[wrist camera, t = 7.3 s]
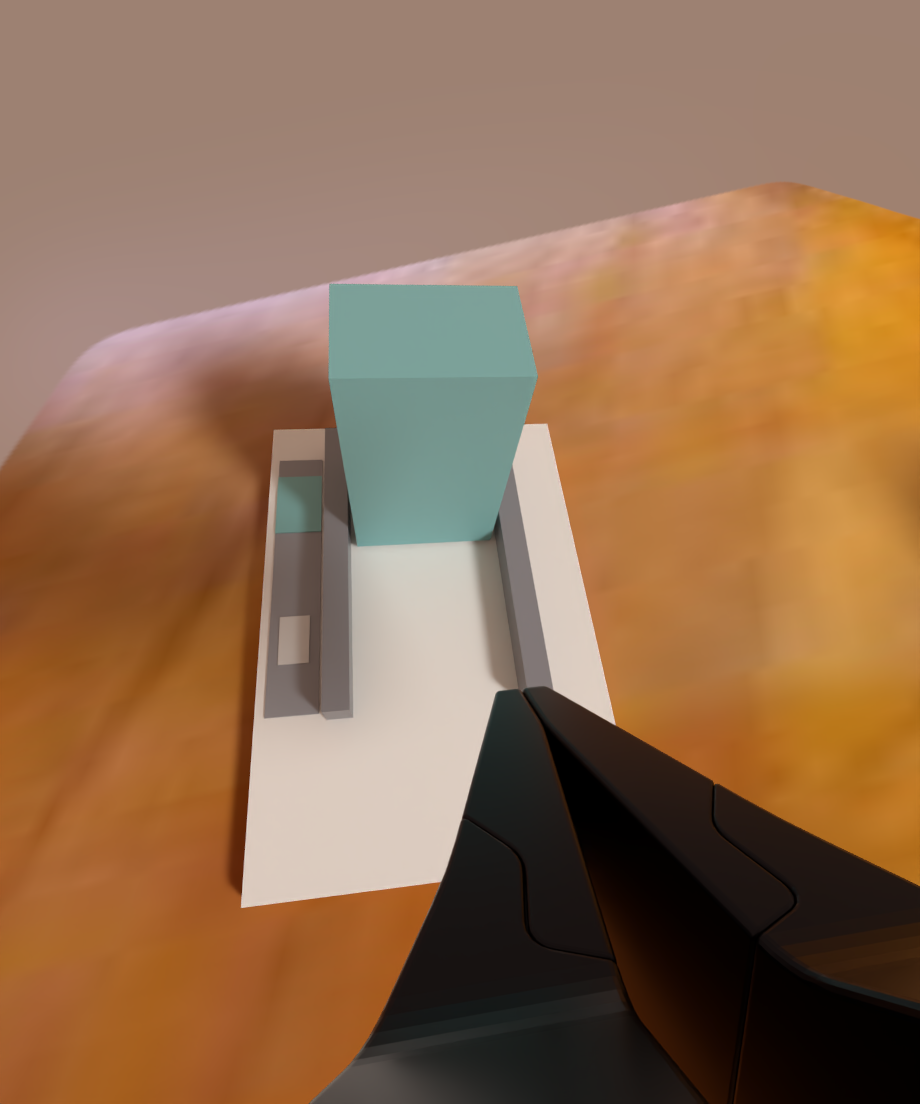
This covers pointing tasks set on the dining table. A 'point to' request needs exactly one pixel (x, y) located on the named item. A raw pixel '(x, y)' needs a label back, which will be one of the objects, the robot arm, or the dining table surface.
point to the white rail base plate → (396, 671)
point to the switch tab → (428, 406)
